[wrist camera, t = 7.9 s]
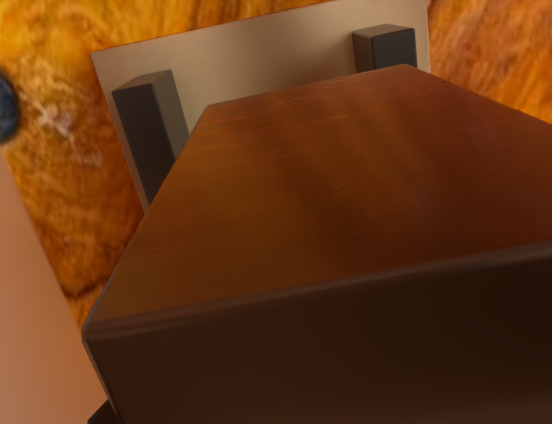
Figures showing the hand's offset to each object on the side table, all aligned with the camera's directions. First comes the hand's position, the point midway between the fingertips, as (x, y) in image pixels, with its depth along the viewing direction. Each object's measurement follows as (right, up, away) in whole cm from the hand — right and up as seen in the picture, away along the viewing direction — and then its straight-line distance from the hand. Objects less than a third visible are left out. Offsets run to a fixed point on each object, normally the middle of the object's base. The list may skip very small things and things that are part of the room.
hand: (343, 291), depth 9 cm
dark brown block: (0, +1, +2) cm, 2 cm away
